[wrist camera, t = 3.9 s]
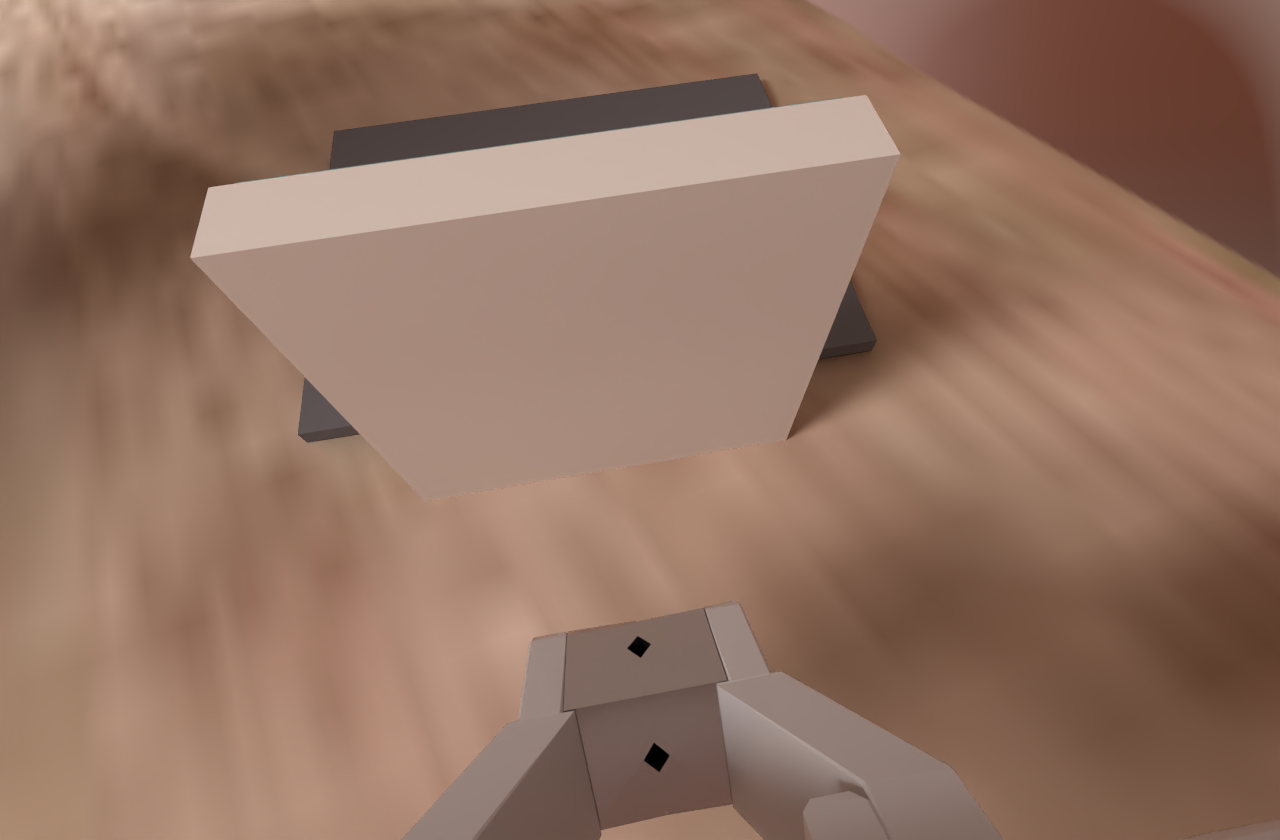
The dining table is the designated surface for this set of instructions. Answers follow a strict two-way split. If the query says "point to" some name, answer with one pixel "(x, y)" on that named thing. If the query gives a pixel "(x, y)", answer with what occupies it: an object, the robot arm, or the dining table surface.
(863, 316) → the mat
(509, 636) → the dining table surface
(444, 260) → the tile
